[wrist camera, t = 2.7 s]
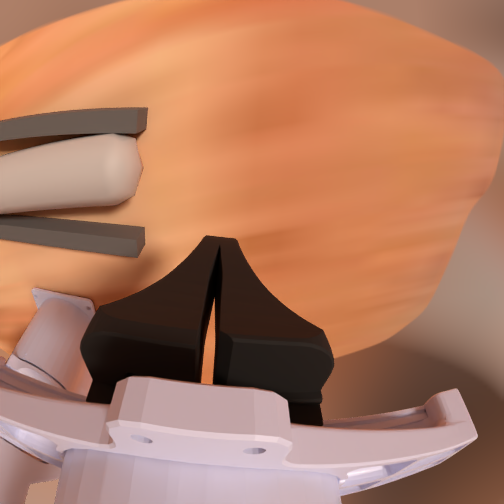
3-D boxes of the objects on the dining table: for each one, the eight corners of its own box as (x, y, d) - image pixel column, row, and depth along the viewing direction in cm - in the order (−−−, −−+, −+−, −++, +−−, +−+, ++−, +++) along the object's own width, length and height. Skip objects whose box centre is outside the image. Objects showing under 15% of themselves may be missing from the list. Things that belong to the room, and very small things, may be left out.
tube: (128, 116, 13) (-73, 175, 12) (126, 212, 15) (-71, 228, 13) (154, 132, 19) (-40, 172, 17) (152, 205, 20) (-39, 220, 18)
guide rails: (145, 244, 22) (137, 257, 20) (-37, 222, 19) (-47, 231, 17) (147, 107, 16) (137, 109, 15) (-50, 133, 14) (-62, 139, 12)
